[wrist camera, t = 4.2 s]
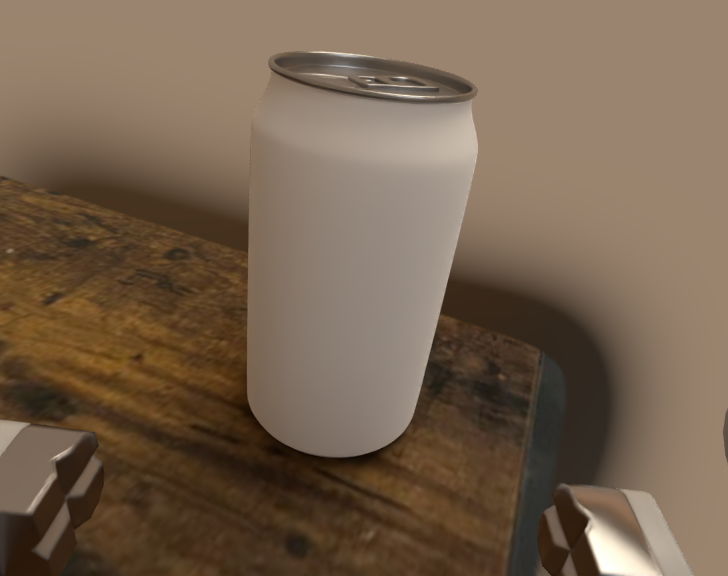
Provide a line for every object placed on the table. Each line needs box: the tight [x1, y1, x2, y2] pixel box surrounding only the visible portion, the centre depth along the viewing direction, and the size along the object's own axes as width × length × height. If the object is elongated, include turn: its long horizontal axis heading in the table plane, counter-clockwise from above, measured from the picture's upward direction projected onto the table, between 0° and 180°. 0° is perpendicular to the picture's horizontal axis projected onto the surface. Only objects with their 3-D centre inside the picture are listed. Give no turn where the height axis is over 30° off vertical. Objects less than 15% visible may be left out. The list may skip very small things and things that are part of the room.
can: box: [247, 51, 478, 458], centre depth 17 cm, size 6×6×12 cm
